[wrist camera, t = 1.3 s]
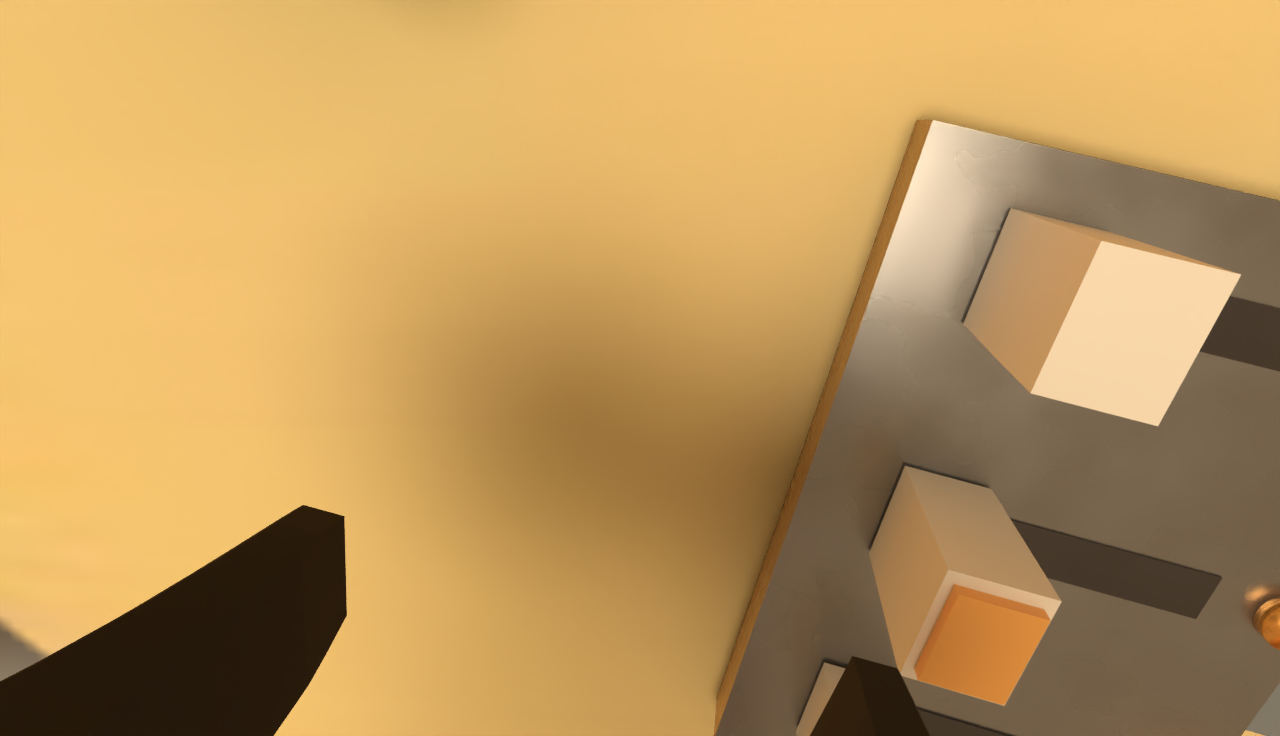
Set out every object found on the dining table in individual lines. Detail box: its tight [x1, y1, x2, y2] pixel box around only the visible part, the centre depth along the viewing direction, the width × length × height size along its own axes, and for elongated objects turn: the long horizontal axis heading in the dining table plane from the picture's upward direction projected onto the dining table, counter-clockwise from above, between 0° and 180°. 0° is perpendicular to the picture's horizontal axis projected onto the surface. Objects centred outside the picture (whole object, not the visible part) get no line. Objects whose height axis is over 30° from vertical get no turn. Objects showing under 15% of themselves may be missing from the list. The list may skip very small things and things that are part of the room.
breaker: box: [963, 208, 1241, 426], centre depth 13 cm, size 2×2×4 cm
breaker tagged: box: [869, 466, 1062, 706], centre depth 15 cm, size 2×2×4 cm
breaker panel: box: [714, 120, 1280, 736], centre depth 17 cm, size 17×12×2 cm
